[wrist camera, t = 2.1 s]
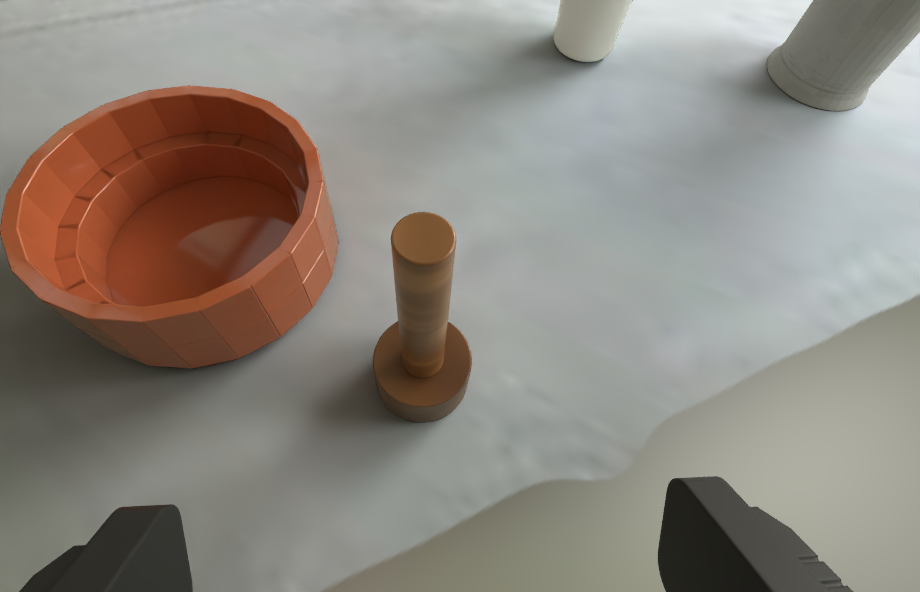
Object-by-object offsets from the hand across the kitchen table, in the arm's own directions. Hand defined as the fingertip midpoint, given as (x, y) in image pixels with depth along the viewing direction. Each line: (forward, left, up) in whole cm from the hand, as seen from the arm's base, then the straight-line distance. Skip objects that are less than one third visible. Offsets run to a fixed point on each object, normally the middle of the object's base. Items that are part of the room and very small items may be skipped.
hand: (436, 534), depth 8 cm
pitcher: (+52, +14, -19) cm, 57 cm away
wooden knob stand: (+5, +8, -19) cm, 21 cm away
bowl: (-2, +22, -19) cm, 29 cm away
